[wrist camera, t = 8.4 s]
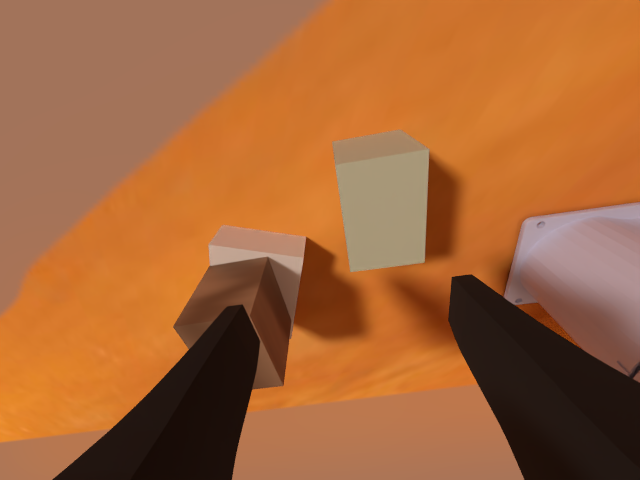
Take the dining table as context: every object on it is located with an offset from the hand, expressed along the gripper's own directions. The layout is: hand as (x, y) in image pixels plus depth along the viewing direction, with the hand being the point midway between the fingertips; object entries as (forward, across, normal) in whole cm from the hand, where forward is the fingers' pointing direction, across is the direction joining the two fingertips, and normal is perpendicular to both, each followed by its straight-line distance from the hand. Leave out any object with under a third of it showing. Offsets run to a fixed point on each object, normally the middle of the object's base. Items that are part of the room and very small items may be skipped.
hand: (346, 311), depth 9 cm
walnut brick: (+7, +7, +5) cm, 11 cm away
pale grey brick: (+10, +7, +5) cm, 13 cm away
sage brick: (+10, -2, -1) cm, 10 cm away
